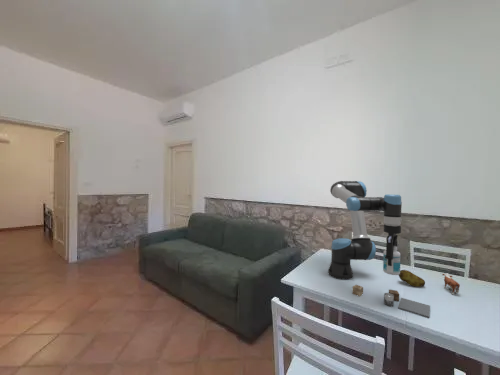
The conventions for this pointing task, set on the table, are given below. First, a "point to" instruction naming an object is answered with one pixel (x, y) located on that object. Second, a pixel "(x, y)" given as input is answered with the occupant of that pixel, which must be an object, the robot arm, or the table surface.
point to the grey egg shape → (389, 299)
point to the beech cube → (357, 290)
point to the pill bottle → (395, 262)
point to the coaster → (414, 307)
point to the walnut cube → (395, 294)
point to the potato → (411, 278)
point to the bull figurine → (451, 283)
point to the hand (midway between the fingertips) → (391, 269)
